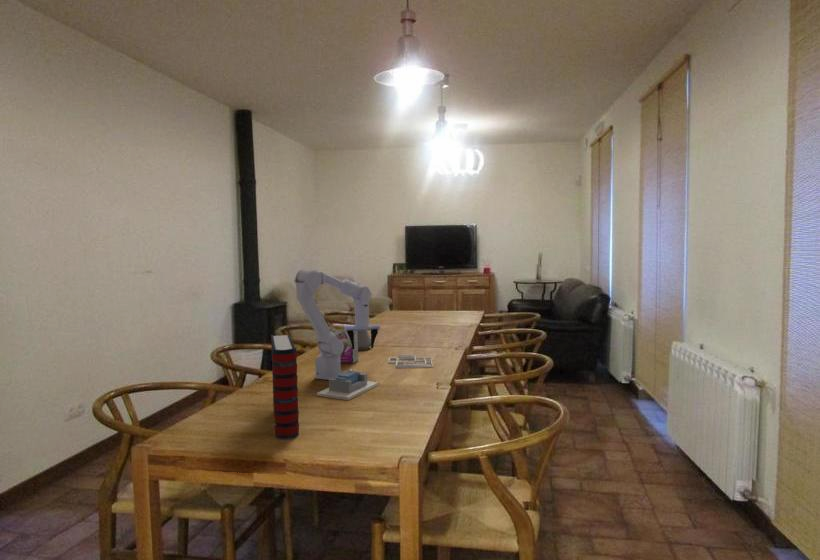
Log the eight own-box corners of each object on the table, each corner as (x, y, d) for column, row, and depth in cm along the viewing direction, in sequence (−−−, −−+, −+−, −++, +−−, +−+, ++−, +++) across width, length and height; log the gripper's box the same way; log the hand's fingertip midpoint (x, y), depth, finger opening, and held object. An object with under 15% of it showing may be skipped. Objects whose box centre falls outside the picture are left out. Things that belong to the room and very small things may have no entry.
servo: (335, 390, 187) (335, 373, 186) (351, 382, 196) (350, 367, 195) (345, 391, 185) (344, 375, 185) (360, 384, 194) (359, 368, 194)
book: (300, 438, 146) (298, 349, 144) (274, 441, 144) (271, 350, 142) (293, 409, 170) (291, 333, 168) (271, 412, 168) (268, 334, 166)
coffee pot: (350, 346, 268) (350, 316, 267) (373, 346, 268) (373, 316, 267) (343, 355, 247) (343, 323, 246) (368, 355, 247) (367, 323, 245)
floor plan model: (376, 359, 241) (376, 354, 241) (431, 358, 241) (431, 354, 240) (373, 369, 222) (372, 364, 222) (432, 368, 222) (432, 364, 222)
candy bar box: (331, 361, 235) (330, 325, 234) (337, 359, 240) (336, 323, 238) (352, 363, 230) (352, 326, 229) (358, 361, 235) (358, 324, 234)
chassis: (317, 395, 185) (316, 381, 184) (348, 381, 203) (347, 368, 202) (348, 400, 179) (348, 385, 179) (378, 385, 197) (377, 371, 196)
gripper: (344, 317, 211) (345, 351, 212) (380, 316, 214) (381, 349, 215) (343, 315, 218) (344, 347, 219) (378, 313, 221) (379, 345, 222)
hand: (362, 348), depth 217 cm, fingers open, 7 cm apart
